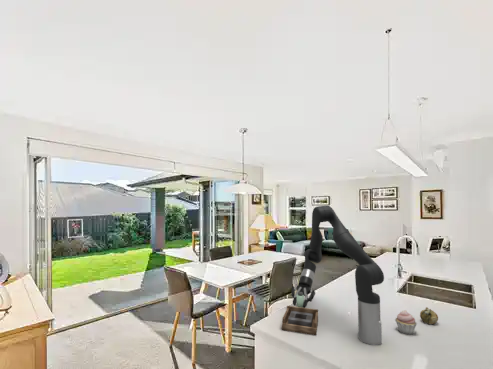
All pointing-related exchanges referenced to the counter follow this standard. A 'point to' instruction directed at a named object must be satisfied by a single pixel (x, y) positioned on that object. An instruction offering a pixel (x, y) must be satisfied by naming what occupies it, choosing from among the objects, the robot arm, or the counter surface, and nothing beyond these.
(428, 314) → the olive green pumpkin
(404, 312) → the cupcake
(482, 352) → the counter surface
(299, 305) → the mint green cylinder
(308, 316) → the box
